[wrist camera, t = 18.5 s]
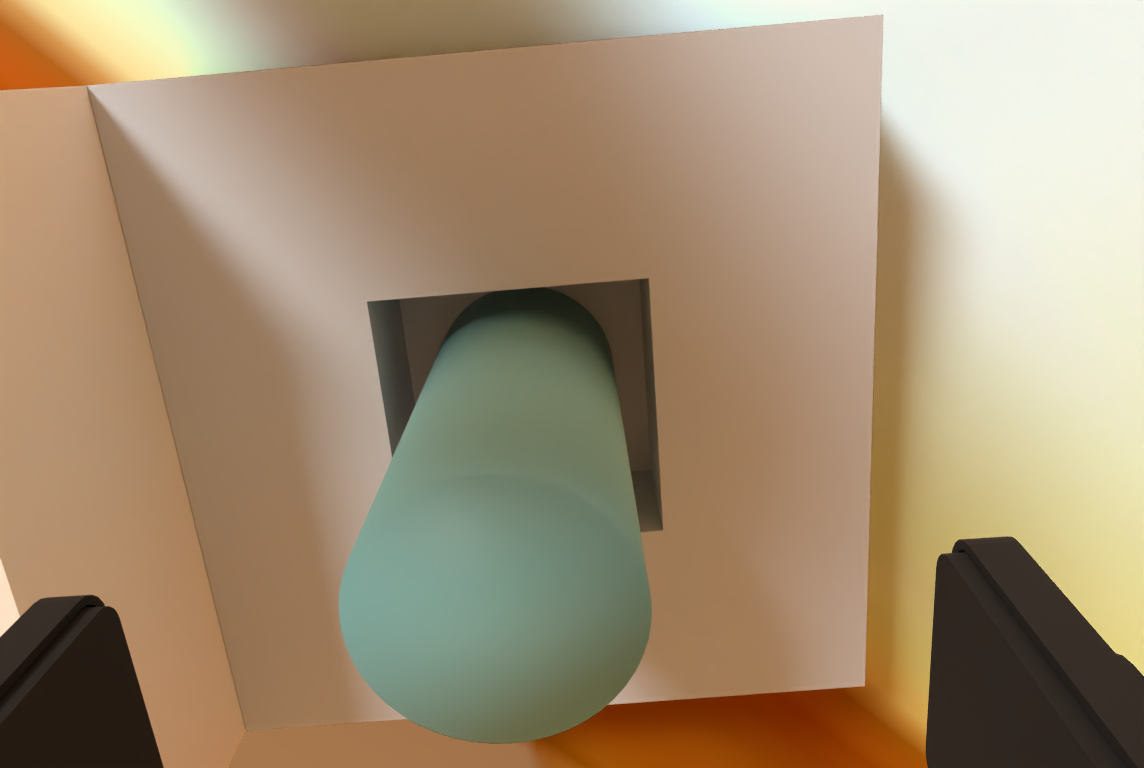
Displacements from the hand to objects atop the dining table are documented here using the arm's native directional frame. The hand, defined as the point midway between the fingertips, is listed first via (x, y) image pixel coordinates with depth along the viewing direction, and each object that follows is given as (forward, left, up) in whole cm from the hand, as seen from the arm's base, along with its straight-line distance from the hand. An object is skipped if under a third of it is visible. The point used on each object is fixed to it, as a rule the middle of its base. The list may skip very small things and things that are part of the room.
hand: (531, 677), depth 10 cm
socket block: (+1, 0, -12) cm, 12 cm away
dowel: (+1, 0, -11) cm, 11 cm away
